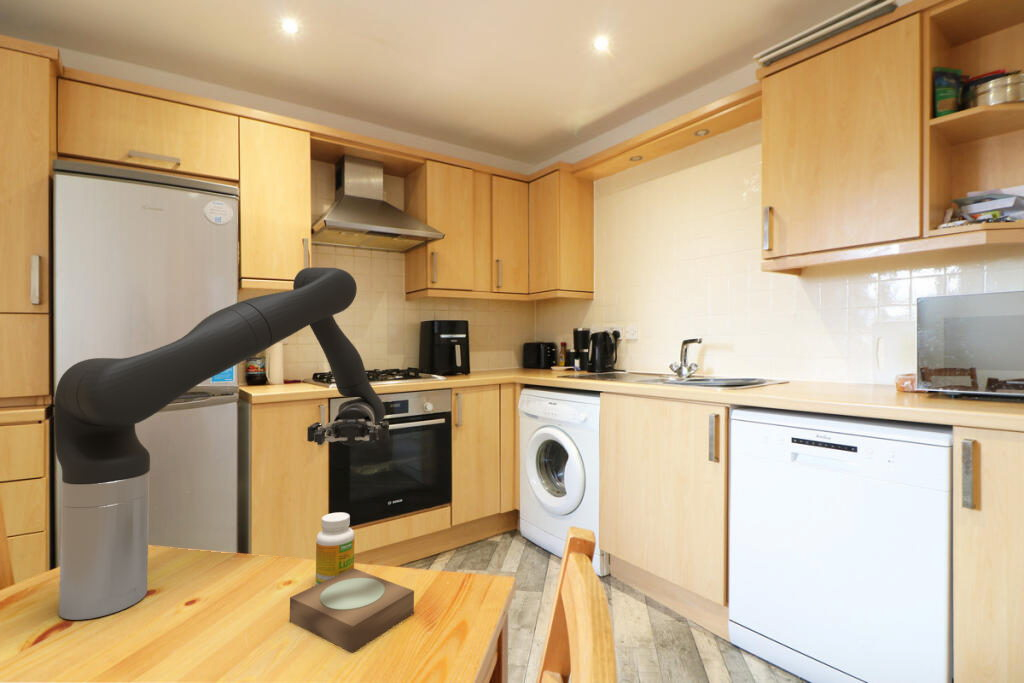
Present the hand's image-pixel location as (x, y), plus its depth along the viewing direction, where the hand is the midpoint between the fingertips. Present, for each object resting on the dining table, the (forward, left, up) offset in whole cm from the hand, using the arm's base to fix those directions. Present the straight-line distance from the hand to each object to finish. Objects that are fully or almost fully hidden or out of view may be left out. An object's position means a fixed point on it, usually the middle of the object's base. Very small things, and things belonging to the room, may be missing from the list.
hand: (345, 437), depth 84 cm
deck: (+18, -13, -19) cm, 29 cm away
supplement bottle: (+8, -8, -20) cm, 23 cm away
